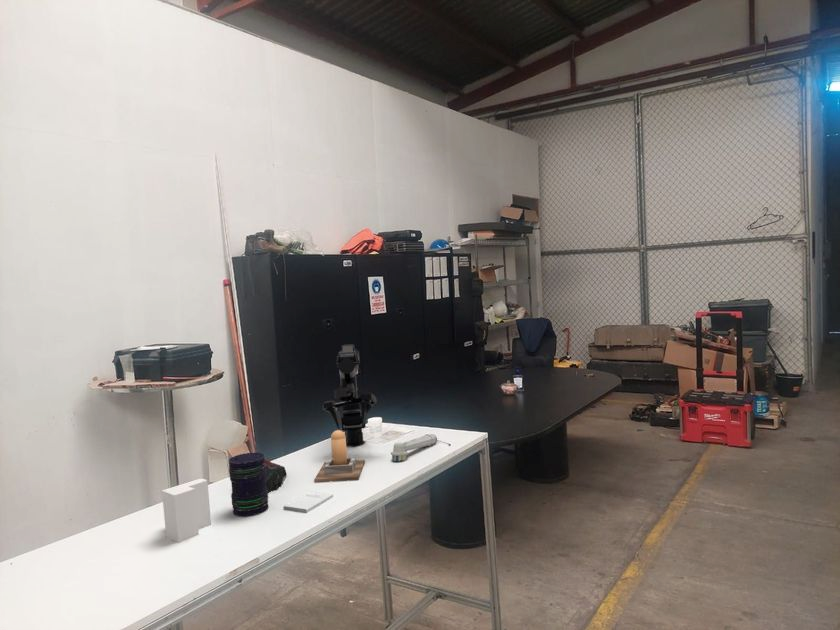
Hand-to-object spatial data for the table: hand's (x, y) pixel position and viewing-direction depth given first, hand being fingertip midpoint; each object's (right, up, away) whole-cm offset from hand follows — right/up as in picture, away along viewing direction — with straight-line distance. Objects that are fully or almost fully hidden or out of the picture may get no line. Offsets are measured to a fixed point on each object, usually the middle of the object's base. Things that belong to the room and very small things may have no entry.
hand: (350, 426), depth 204 cm
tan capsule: (-2, -12, -11) cm, 17 cm away
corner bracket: (-37, -18, -51) cm, 65 cm away
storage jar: (-23, -16, -40) cm, 49 cm away
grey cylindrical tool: (+22, -11, +7) cm, 26 cm away
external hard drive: (-8, -16, -37) cm, 41 cm away
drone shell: (-26, -16, -17) cm, 35 cm away
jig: (-2, -13, -11) cm, 17 cm away
